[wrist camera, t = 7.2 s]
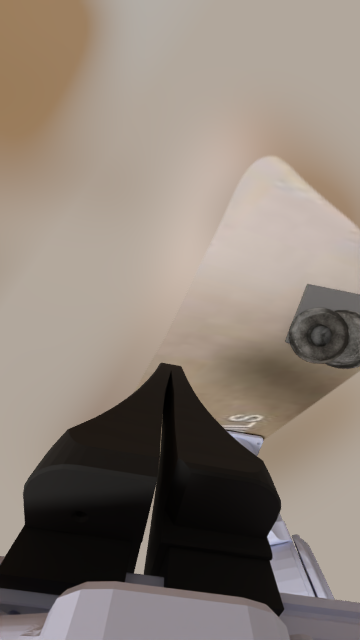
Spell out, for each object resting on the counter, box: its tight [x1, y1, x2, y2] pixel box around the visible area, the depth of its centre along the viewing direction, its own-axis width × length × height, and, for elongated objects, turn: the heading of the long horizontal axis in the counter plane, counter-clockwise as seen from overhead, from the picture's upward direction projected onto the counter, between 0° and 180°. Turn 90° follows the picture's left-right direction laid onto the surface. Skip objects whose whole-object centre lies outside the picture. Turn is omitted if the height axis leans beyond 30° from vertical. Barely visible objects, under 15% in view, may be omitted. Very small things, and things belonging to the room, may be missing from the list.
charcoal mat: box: [285, 284, 360, 343], centre depth 20 cm, size 7×7×1 cm
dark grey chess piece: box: [289, 307, 360, 369], centre depth 18 cm, size 6×6×12 cm
